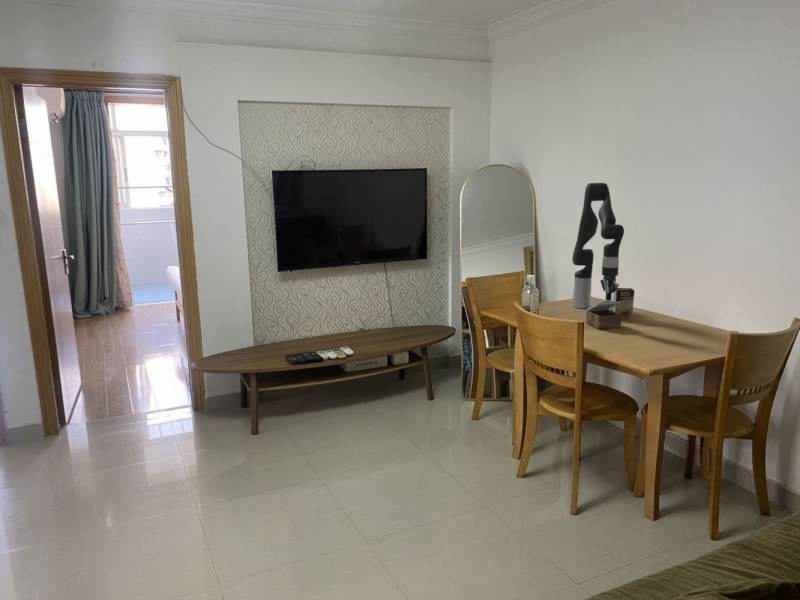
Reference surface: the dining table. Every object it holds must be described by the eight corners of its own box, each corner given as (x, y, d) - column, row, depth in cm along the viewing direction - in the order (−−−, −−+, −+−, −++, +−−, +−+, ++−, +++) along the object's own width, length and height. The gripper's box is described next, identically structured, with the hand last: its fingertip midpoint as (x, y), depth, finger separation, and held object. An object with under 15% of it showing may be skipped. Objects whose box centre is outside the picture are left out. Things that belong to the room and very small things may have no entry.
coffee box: (614, 320, 311) (616, 290, 308) (611, 317, 318) (613, 287, 314) (632, 320, 310) (634, 290, 307) (629, 317, 317) (631, 287, 313)
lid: (586, 310, 304) (586, 308, 304) (608, 309, 306) (607, 306, 307) (598, 304, 292) (597, 301, 293) (620, 302, 295) (619, 300, 295)
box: (586, 323, 305) (586, 311, 304) (607, 322, 308) (607, 309, 306) (598, 329, 294) (599, 316, 292) (620, 328, 296) (621, 314, 295)
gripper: (596, 264, 296) (594, 298, 300) (610, 268, 284) (608, 303, 287) (609, 263, 298) (607, 297, 302) (625, 267, 285) (622, 302, 289)
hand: (608, 300), depth 295 cm, fingers closed
